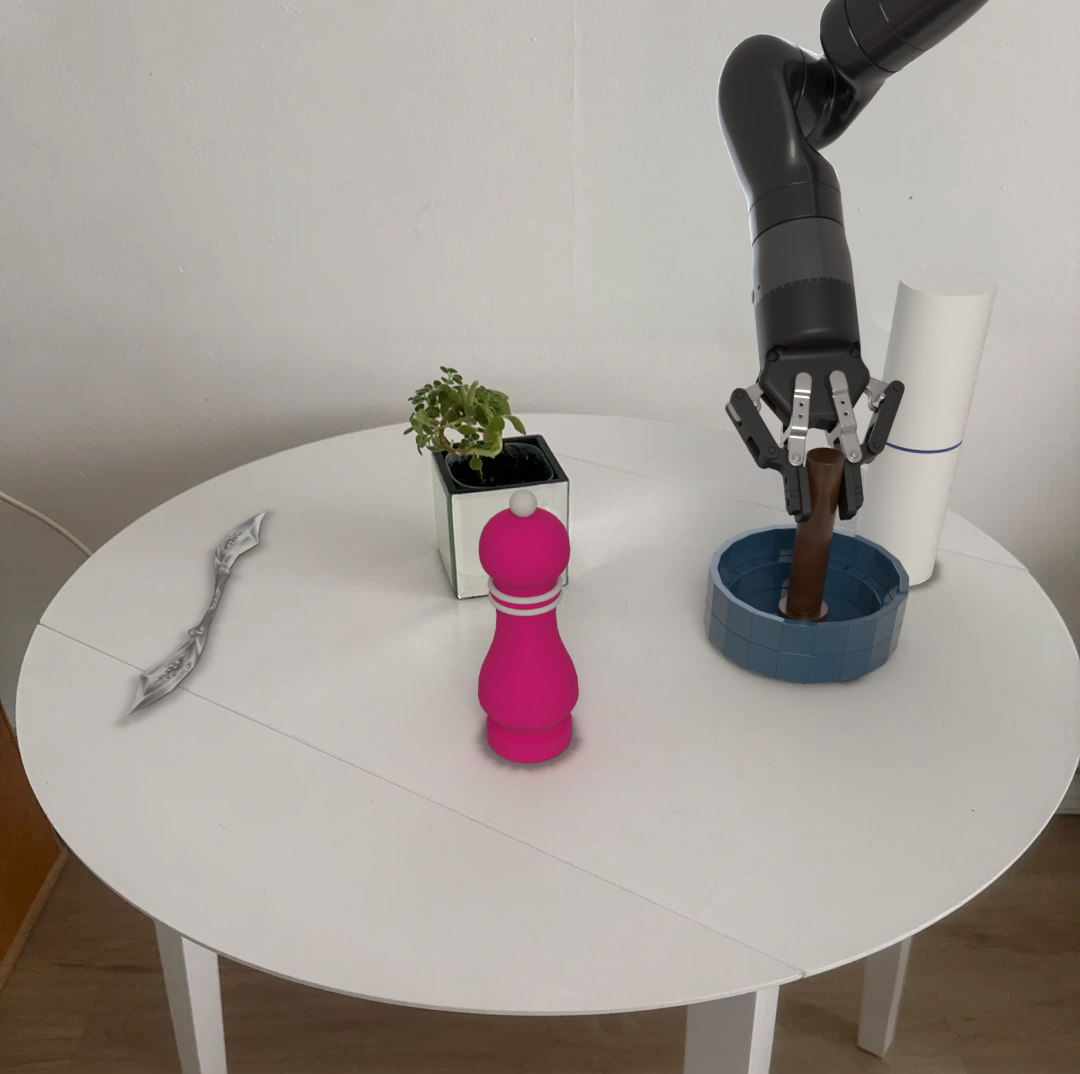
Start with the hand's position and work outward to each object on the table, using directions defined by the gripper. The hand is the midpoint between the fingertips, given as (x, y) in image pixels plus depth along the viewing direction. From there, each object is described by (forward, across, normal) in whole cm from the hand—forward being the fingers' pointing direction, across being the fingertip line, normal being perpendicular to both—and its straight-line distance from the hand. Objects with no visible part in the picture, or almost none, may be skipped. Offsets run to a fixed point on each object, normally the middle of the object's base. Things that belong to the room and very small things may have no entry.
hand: (826, 517), depth 86 cm
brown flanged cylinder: (+6, 0, +9) cm, 11 cm away
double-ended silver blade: (0, -50, +17) cm, 52 cm away
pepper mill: (+15, -23, +2) cm, 28 cm away
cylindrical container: (0, +11, +17) cm, 20 cm away
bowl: (+7, 0, +10) cm, 12 cm away
